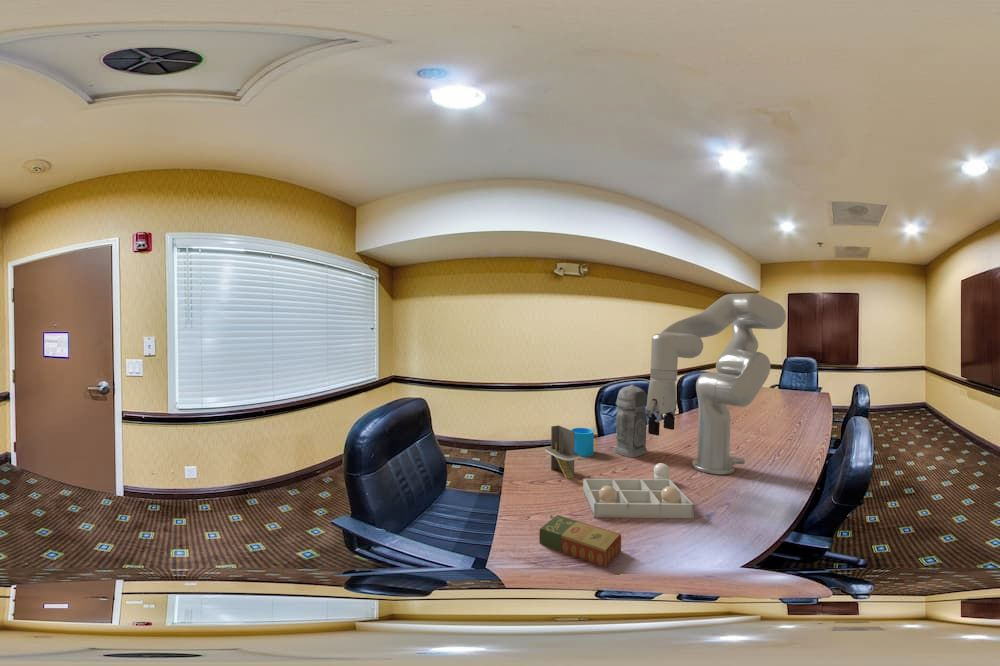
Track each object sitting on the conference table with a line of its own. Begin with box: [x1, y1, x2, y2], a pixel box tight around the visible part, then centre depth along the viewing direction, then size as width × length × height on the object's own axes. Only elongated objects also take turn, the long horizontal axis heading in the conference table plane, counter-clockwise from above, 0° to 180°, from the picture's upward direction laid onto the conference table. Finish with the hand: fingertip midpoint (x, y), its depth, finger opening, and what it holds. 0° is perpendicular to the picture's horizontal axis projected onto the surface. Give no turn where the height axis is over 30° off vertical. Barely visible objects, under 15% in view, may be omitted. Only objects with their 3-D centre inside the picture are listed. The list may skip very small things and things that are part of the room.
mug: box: [570, 427, 595, 457], centre depth 164 cm, size 12×8×8 cm
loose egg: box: [653, 462, 670, 479], centre depth 138 cm, size 5×5×6 cm
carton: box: [538, 514, 622, 568], centre depth 100 cm, size 8×16×4 cm, turn 53°
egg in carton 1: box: [599, 486, 617, 503], centre depth 119 cm, size 5×5×6 cm
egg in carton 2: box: [661, 486, 680, 504], centre depth 118 cm, size 5×5×6 cm
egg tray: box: [582, 478, 695, 519], centre depth 123 cm, size 25×17×4 cm
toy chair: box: [544, 424, 581, 480], centre depth 144 cm, size 20×25×15 cm
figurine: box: [613, 384, 648, 459], centre depth 165 cm, size 10×14×25 cm
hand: (661, 431), depth 137 cm, fingers open, 9 cm apart
